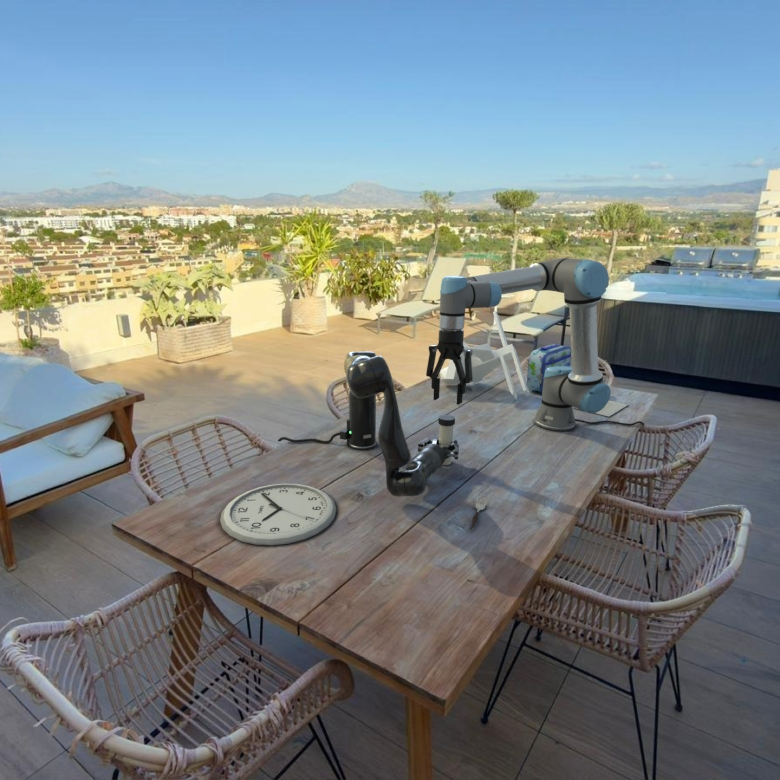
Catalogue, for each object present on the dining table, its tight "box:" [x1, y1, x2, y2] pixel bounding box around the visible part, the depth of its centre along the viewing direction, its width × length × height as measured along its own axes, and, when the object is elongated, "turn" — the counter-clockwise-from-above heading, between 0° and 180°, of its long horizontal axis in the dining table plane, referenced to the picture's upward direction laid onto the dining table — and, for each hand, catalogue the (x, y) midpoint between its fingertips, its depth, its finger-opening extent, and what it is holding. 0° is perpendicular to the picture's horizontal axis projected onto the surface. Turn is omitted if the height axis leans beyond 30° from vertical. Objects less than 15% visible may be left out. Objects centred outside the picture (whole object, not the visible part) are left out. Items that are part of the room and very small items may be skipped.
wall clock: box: [219, 483, 337, 546], centre depth 138 cm, size 30×2×30 cm
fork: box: [470, 495, 488, 530], centre depth 138 cm, size 3×16×2 cm, turn 160°
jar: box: [438, 424, 454, 466], centre depth 168 cm, size 4×4×15 cm
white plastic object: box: [439, 310, 531, 400], centre depth 245 cm, size 37×45×31 cm
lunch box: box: [526, 343, 572, 394], centre depth 247 cm, size 26×11×21 cm, turn 134°
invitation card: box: [573, 399, 629, 418], centre depth 226 cm, size 21×1×15 cm
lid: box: [437, 414, 456, 427], centre depth 166 cm, size 5×5×2 cm
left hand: (448, 440), depth 171 cm, fingers closed on jar, 4 cm apart
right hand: (447, 401), depth 164 cm, fingers open, 7 cm apart
